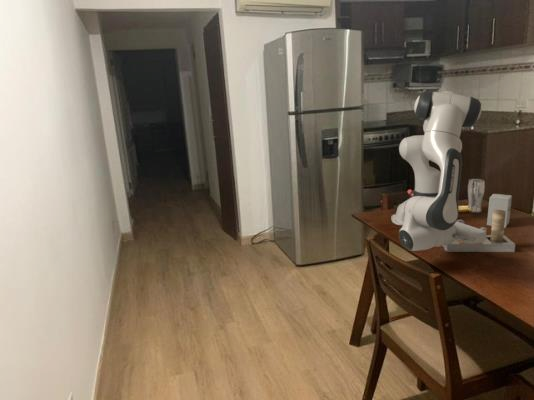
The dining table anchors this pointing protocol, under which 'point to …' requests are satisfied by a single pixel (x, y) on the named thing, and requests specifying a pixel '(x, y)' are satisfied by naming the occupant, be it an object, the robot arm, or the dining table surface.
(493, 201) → the supplement box
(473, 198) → the beer glass
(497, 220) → the peg
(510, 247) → the board
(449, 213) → the robot arm
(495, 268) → the dining table surface
